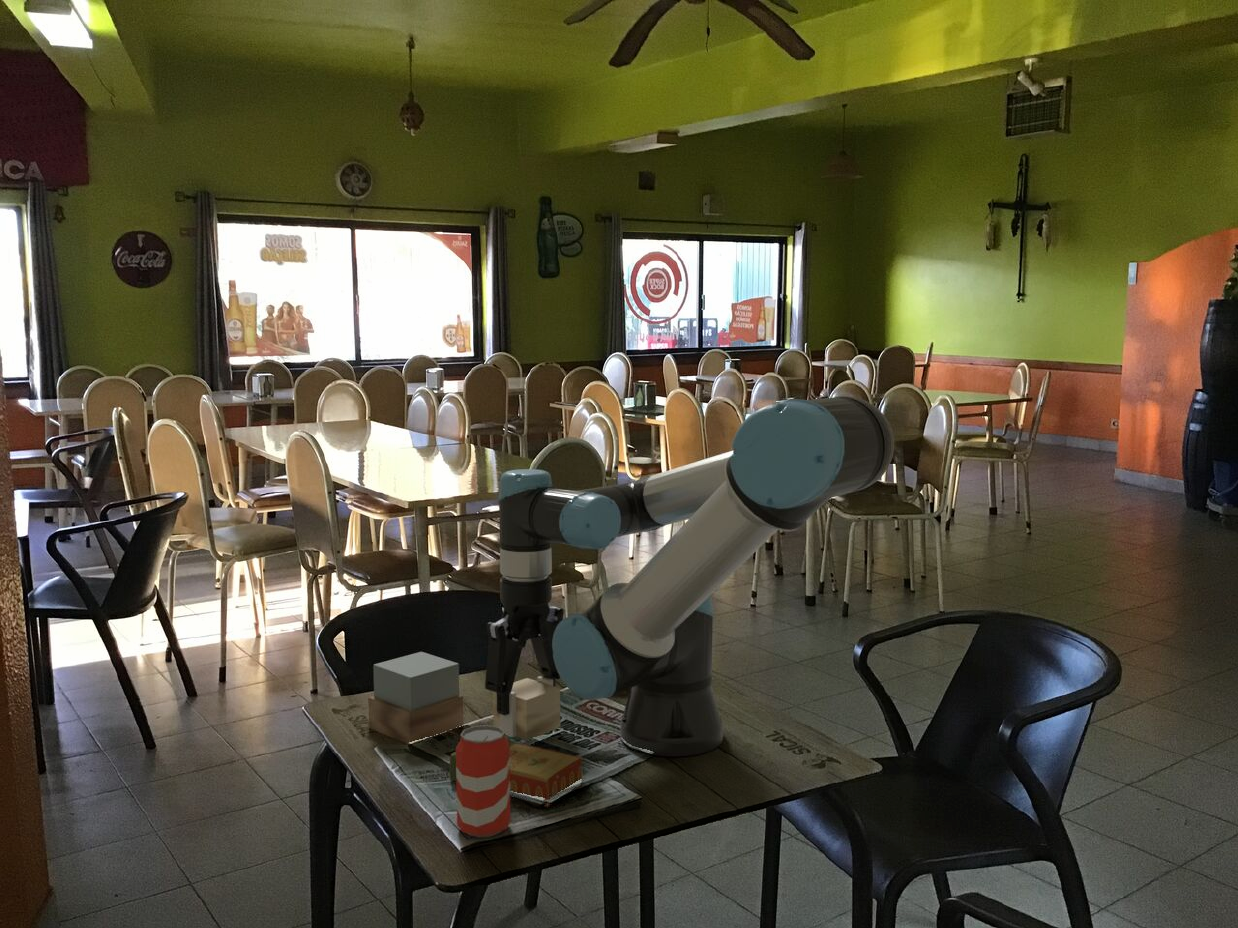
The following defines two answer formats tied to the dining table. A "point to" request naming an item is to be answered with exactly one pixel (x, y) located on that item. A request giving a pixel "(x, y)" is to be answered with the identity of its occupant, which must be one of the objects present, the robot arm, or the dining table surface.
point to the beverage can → (483, 781)
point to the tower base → (415, 718)
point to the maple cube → (533, 708)
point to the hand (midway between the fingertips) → (527, 726)
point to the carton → (537, 770)
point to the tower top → (416, 680)
